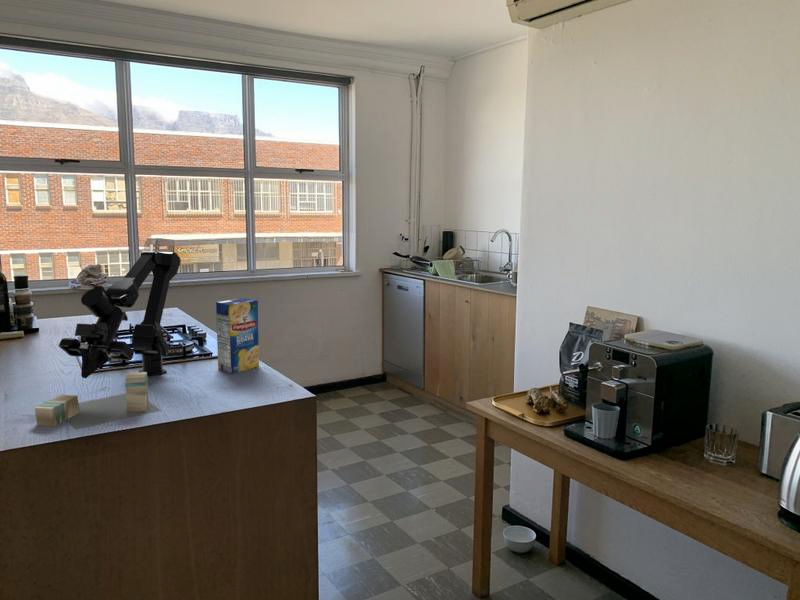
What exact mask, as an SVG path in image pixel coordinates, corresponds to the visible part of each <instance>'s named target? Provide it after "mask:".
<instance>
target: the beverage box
mask: <svg viewBox="0 0 800 600" xmlns="http://www.w3.org/2000/svg"><path fill="white" fill-rule="evenodd" d="M215 309H216V335H217V336H216V339H217V341H216V342H217V343H216V344H217V370H218V371H221V372H224V373H227V374H230V375H232V374H236V373H240V371H241V372H245V371H248V370H247V369H249V370H252V369H251V368H253V369H255V368H254V367H256V368H259V367H260V359H259V358H260V355H259V354H260V353H259V352H260V351H259V350H260V347H259V343H260V342H259V301H258V299H257V300H256V299H251V298H247V297H242V298H236V299H228V300H221V301H217V302H215ZM258 366H259V367H258ZM244 370H245V371H244Z"/></svg>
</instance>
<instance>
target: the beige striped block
mask: <svg viewBox="0 0 800 600" xmlns="http://www.w3.org/2000/svg"><path fill="white" fill-rule="evenodd" d="M79 403H80V402H79V397H78V395H76V394H75V395H74V394H73V395H72V394H60V395H58V396H56V397H53V398H52V399H50V400H48V401H45V402H43V403H41V404H37V406H36V407H34V411H35V413H34V414H35V419H36V420H35V421H36V425H37V426H44V427H45V426H48V427H55V426H58V425H60V424H62V423H63V422H66V421H67V419H69V418H70V417H72V416H74V415H76V414H78V413H80V412H79Z"/></svg>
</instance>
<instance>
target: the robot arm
mask: <svg viewBox="0 0 800 600" xmlns="http://www.w3.org/2000/svg"><path fill="white" fill-rule="evenodd" d="M181 261H182V260H181V258H180V256H179V255H178V253H177V252H172V251H157V250H144V251H142V252H141V253H140V255H139V257H138V259H137V260H136V262H135V263H134V264H133V265H132V267H131V268H130V269H129V271H128V272H127V273H126V274H125V276H124V277H123V278H122V279H120V280H117V281H116V282H113V283H112V284H111V285H110V286H109V287H108V288H107V289H106V290H105V288H104V287H103V285H96V284H95V285H94V286H93V288H91V289H89V290H87V291H86V292H85V293H83V294H82V295H81V299H80V302H81V304H82V305H83V306H84V307H85V308H86V309H87V311H89V312H90V313H91V314H92V315H93V316H94V317H96V318H97V321H96V323H76V327H75V331H74V336H75V337H81V338H82V341H84V342H81V341H80V340H79V339H77V338H73V337H64V338H61V340H60V341H59V343H58V345H57V346H58V347H59V348H60V349H61V350H62V351H64V353H66V354H67V355H68V356H71V357H79V358H80V357H81V373H80V374H81V378H82V379H87V378H89V376H91V375H92V374H93V373H95V372H96V371H98V370H99V368H101V367H102V366H104V365H105V364H107V363H108V362H109V363H110V362H111V361H112V358H111V357H112V355H114V354H118V355H119V358H120V360H122V361H132V359H133V357H134V354H135V355H141V361H142V362H141V364H142V369H139V370H138V373H139V372H147V377H150V376H155V375H161V374H162V375H163V374H167V373H168V371H167V370H166V369H165V368H164V367H163V356H165V355H167V354H168V352H169V349H170V345H169V344H168V342H166V340H165V339H164V331H163V329H162V326H161V323H162V317H163V313H164V308H165V304H166V300H167V295H168V290H169V286H170V282H171V280H172V279H173V278H174V277H175V276H176V275H177V274H178V271H179V268H180V266H181ZM151 273H152V276H153V277H152V282H151V286H150V287H151V288H150V291H149V295H148V298H147V299H148V300H147V305H146V308H145V313H144V316H143V320H142V322H141V323H136V324H135V325H134V328H133V333H132V335H131V345H132V347H130V345H129V344H128V343H127V342H126V341H118V340H115V339H118V338H119V334H118V331H119V328H120V326H121V324H122V322H123V321H125V322H127V321H128V320H129V318H128V315H127V313H126V312H127V311H126V310H123V309H121V308H133V306H134V305H135V304H136V302H137V300H138V298H139V296H140V295H139V289H140V287H141V286H142V284H144V282H145V280H146V279H147V278H148V276H149V275H150V274H151Z"/></svg>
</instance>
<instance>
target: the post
mask: <svg viewBox="0 0 800 600" xmlns="http://www.w3.org/2000/svg"><path fill="white" fill-rule="evenodd" d="M148 378H149V377H148V376H147V372H139V371H138V372H128V373H127V374H126V376H125V379H124V380H125V382H124V387H125V394H126V400H127V412H137V411H146V410H147V407H148V402H149V392H148V391H149V388H148V387H149V386H148V380H149V379H148Z"/></svg>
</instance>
